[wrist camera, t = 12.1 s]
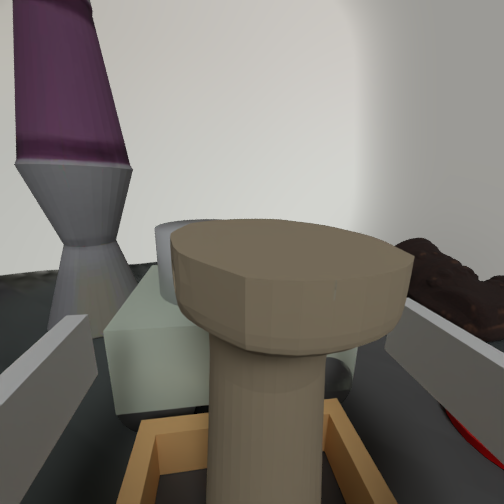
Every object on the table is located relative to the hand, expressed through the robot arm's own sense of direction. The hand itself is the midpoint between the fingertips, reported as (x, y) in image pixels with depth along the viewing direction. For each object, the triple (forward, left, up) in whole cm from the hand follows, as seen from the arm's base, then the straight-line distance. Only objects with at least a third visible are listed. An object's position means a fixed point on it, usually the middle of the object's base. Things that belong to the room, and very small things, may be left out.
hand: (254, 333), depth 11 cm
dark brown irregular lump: (+22, +25, -10) cm, 35 cm away
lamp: (-22, +14, -10) cm, 28 cm away
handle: (+1, -3, -10) cm, 11 cm away
